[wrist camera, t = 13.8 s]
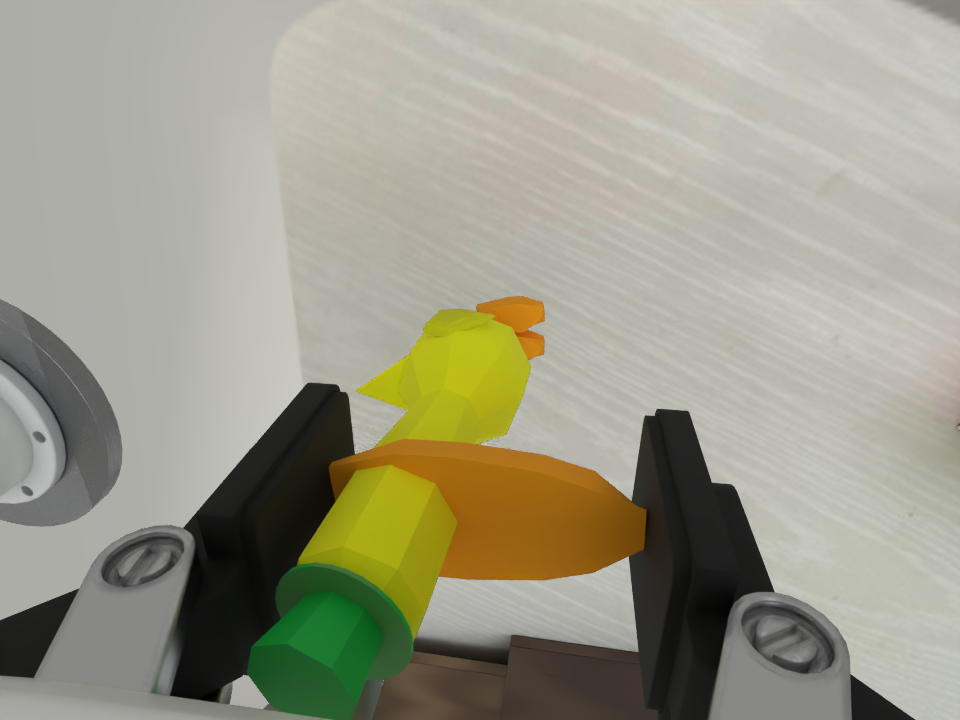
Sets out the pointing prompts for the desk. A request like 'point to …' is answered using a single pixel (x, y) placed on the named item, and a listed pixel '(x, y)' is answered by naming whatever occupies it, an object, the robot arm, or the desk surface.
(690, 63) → the desk surface
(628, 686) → the cabinet
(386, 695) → the drawer
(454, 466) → the toy figure
